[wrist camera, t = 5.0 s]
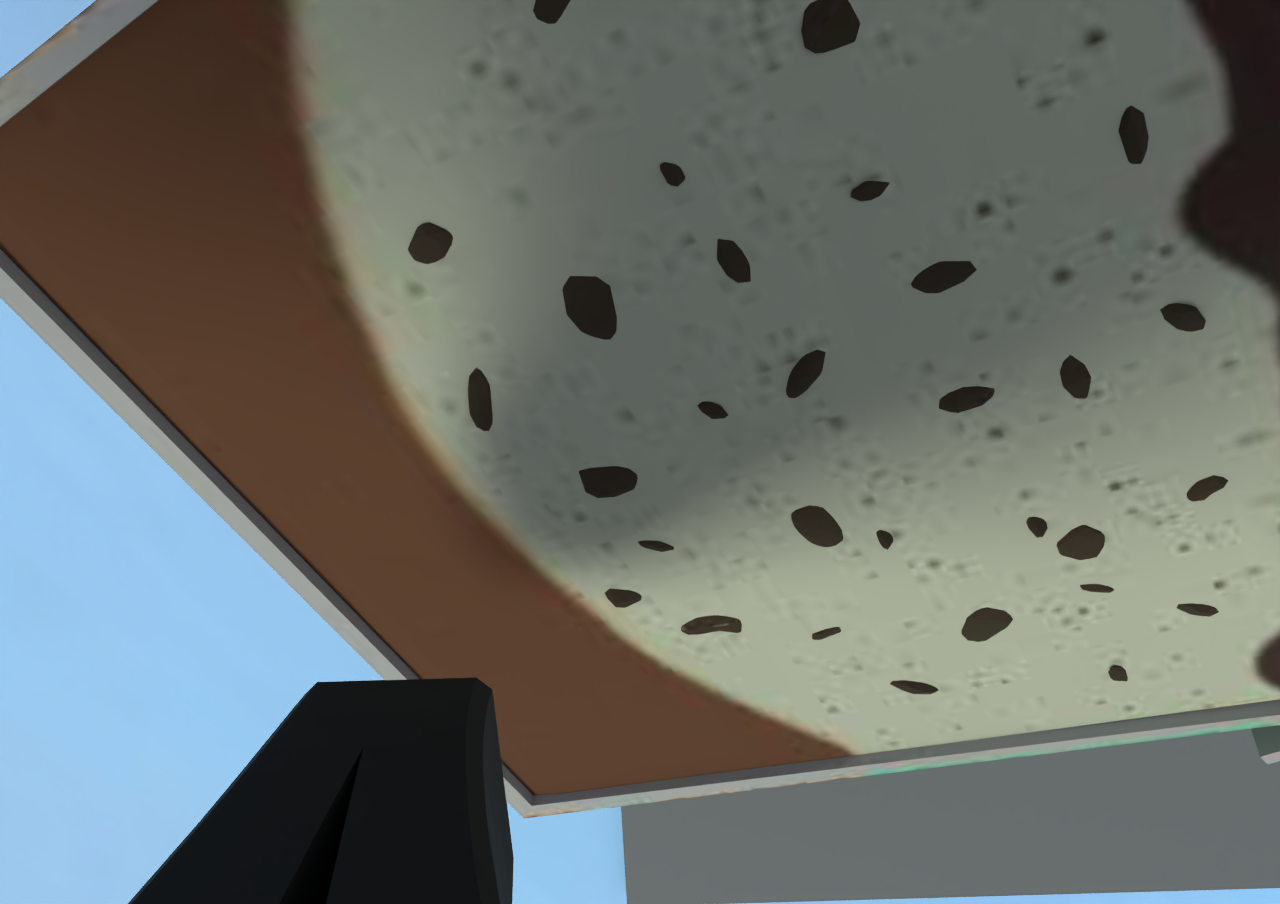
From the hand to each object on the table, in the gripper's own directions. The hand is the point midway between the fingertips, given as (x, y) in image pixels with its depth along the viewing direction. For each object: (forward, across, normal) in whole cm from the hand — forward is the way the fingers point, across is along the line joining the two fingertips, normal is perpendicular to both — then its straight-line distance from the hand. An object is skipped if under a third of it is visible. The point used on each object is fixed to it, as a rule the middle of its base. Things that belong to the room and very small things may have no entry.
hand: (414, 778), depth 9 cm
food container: (+6, +2, -1) cm, 6 cm away
